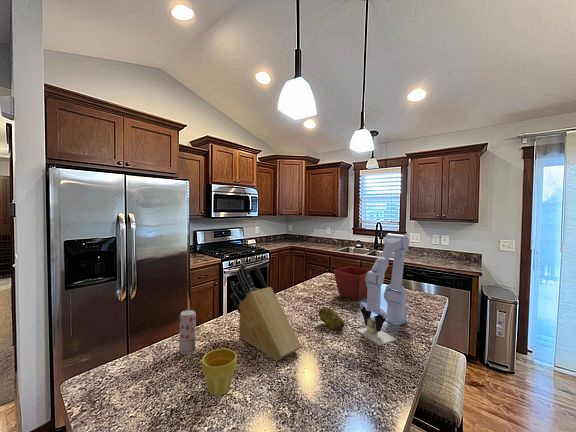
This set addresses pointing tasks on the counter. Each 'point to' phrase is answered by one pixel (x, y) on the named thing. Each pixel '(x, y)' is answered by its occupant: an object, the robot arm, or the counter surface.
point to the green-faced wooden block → (371, 326)
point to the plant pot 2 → (351, 282)
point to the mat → (377, 336)
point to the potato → (331, 318)
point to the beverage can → (187, 331)
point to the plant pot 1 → (219, 370)
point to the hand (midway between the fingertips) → (372, 327)
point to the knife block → (262, 317)
